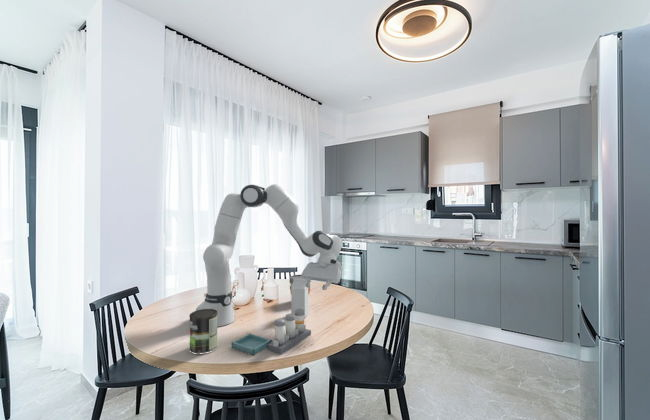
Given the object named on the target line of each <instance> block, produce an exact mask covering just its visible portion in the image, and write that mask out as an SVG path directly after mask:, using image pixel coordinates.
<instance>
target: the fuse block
mask: <svg viewBox="0 0 650 420" xmlns="http://www.w3.org/2000/svg"><path fill="white" fill-rule="evenodd" d="M306 327H307V326H306V324H304V332H303V333H298V329H296V328H295V338H294V339H289V335H287V334H286V333H285V344H284V345H281V346H278V341H276V340H275V339H274V340H273V341H272V342H271V343H270V344H268V347H267V351H270V352H273V353H276V354H279V355H283V354H284V353H286V352H287V351H288V350H291V349H292V348H294V347H295V346H296V345H298V344H300V343H302V341H304V340H306V339H307V338H308V337H310V336H311V334H312V330H311V329H307V328H306Z"/></svg>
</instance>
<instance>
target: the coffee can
mask: <svg viewBox="0 0 650 420" xmlns="http://www.w3.org/2000/svg"><path fill="white" fill-rule="evenodd" d="M217 314H218V311H217V310H214V309H202V310H197V311H196V310H195V311H193V312H191V313H189V352H190V351H191V352H193V353H196V354H200V353H206V352H210V351H213V350H214V351H216V350H217V349H218V326H217ZM216 348H217V349H216ZM215 349H216V350H215ZM214 351H213V352H214ZM210 353H211V352H210Z"/></svg>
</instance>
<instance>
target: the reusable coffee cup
mask: <svg viewBox="0 0 650 420" xmlns="http://www.w3.org/2000/svg"><path fill="white" fill-rule="evenodd" d="M293 279H304V278H303V277H302V274H293V275H291V276H289V285H290V286H289V290H290V293H291V287H292V284H293ZM311 281H312V280H311ZM311 281H310V282H309V283H310V284H311ZM310 290H311V286H310V287H309V288H308V296H309V295H310Z"/></svg>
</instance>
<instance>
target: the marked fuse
mask: <svg viewBox="0 0 650 420" xmlns="http://www.w3.org/2000/svg"><path fill="white" fill-rule="evenodd" d="M304 325H305V319H304V310H303V309H297V310H295V328H296V329H298V333H303V332H304Z"/></svg>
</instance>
